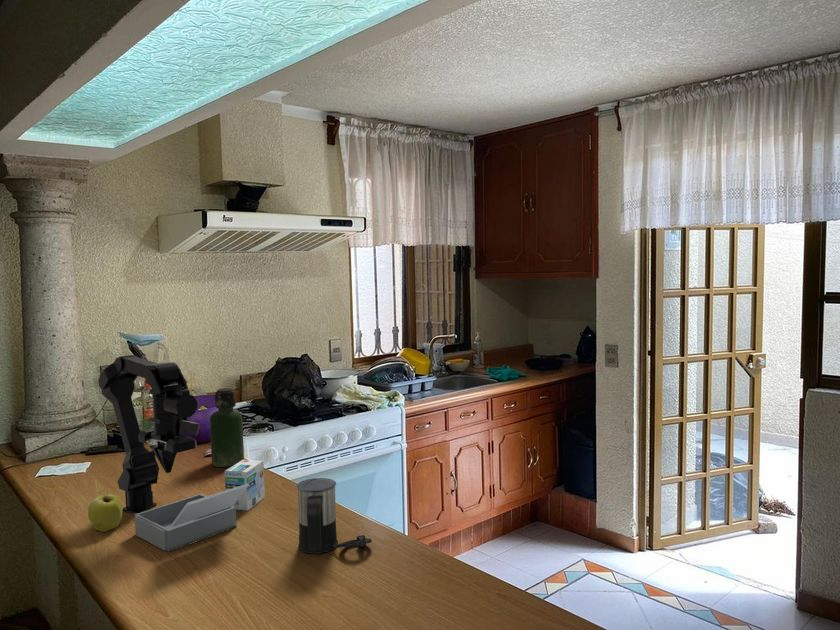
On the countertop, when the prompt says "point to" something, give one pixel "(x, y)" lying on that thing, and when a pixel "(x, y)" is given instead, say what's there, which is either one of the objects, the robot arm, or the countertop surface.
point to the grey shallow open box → (180, 525)
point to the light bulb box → (246, 482)
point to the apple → (105, 512)
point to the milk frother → (320, 517)
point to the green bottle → (226, 430)
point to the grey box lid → (209, 504)
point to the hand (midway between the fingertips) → (168, 472)
